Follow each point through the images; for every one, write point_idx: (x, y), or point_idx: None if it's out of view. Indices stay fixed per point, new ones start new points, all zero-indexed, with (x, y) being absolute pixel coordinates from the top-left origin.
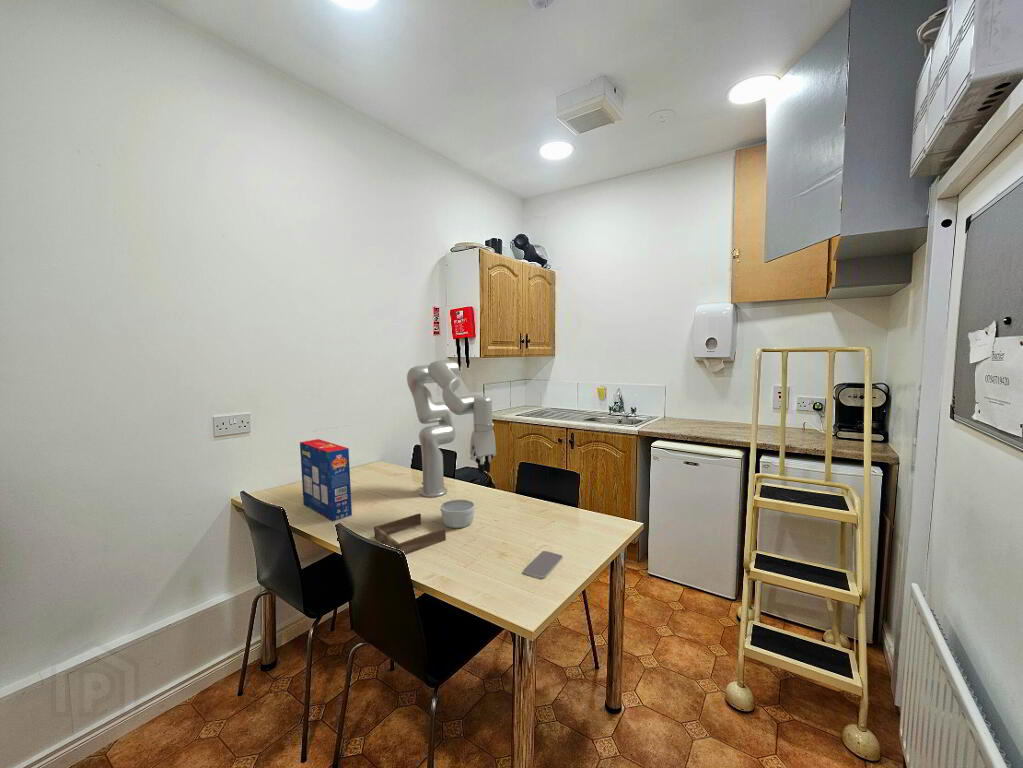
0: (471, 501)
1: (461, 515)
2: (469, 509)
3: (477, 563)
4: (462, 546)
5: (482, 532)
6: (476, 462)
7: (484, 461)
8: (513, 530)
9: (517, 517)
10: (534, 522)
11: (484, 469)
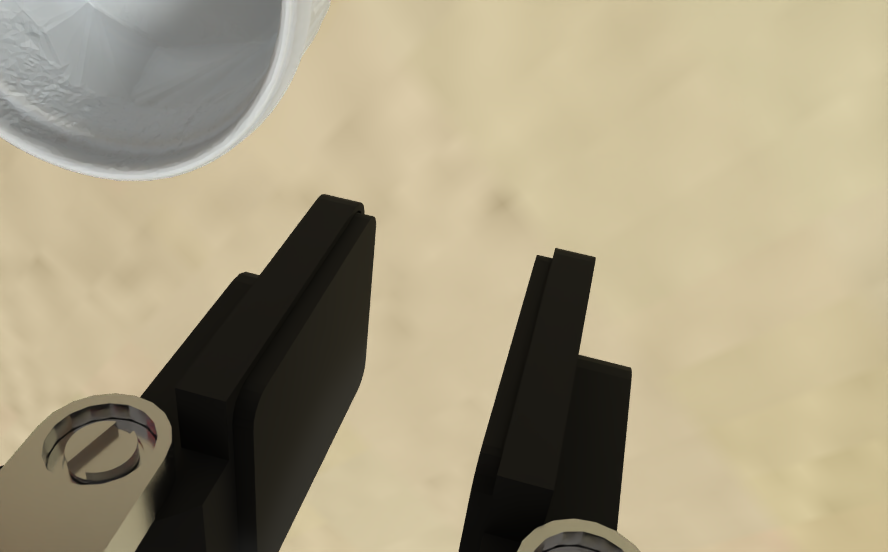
0: (287, 5)
1: (49, 118)
2: (119, 178)
3: (10, 439)
4: (13, 269)
5: (243, 255)
6: (50, 419)
7: (520, 483)
8: (444, 422)
9: (696, 339)
10: (680, 488)
11: (527, 298)
